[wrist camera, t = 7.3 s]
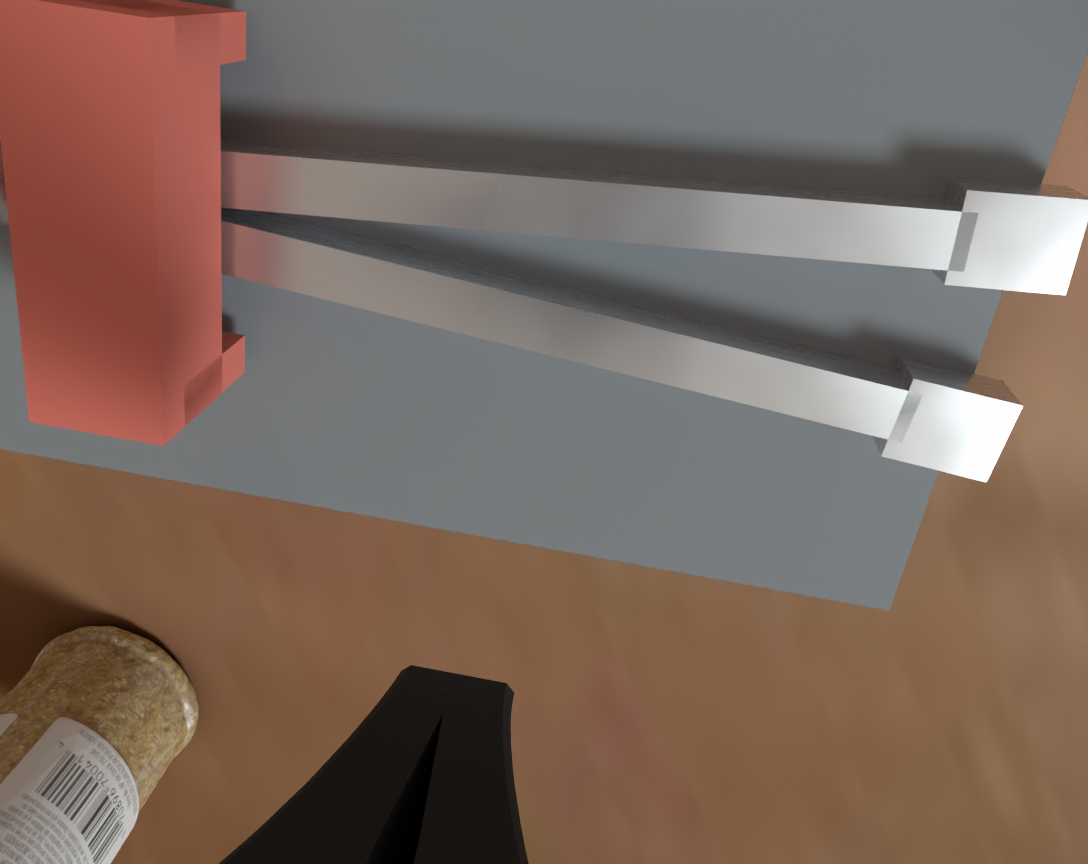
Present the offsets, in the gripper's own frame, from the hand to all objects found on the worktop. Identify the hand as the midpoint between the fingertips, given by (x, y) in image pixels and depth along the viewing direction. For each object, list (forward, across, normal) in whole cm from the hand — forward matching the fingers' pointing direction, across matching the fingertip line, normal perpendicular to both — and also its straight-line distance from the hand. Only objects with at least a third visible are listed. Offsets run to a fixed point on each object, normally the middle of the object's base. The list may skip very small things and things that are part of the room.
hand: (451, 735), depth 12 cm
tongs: (+9, +2, -4) cm, 10 cm away
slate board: (+10, +2, -4) cm, 11 cm away
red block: (+8, +7, -4) cm, 12 cm away
